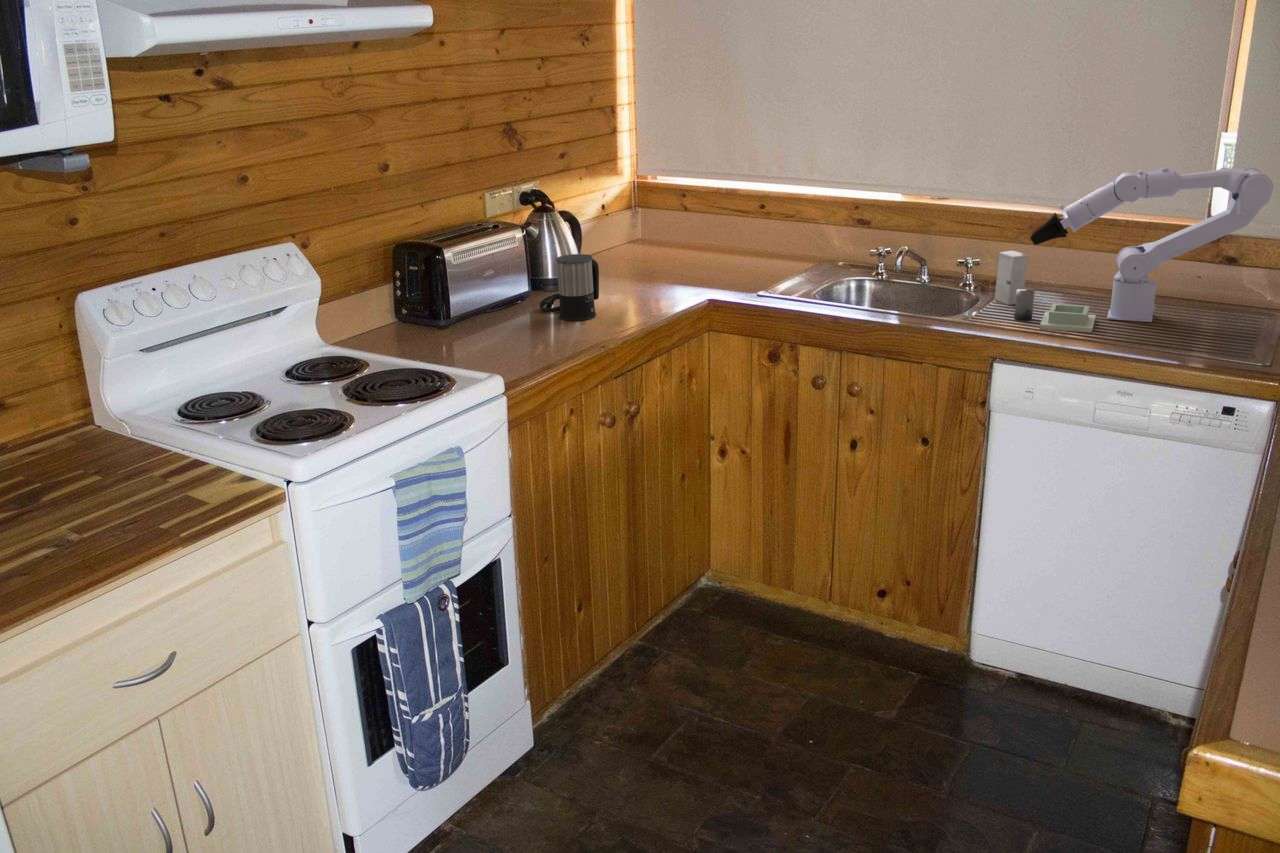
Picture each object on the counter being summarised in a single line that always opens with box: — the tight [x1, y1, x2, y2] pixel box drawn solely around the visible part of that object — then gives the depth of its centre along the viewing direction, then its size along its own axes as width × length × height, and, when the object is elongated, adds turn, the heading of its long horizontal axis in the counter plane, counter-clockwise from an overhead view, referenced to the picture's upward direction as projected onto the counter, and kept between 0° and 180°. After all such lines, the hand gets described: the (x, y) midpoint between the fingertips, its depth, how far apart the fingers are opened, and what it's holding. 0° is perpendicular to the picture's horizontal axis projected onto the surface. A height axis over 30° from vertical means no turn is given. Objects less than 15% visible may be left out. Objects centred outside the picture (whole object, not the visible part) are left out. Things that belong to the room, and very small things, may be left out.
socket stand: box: [1039, 303, 1097, 334], centre depth 257 cm, size 11×12×4 cm
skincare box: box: [994, 250, 1028, 306], centre depth 276 cm, size 6×4×12 cm
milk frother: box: [539, 253, 600, 322], centre depth 280 cm, size 14×16×15 cm
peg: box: [1014, 286, 1036, 322], centre depth 262 cm, size 4×4×7 cm
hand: (1032, 239), depth 262 cm, fingers open, 7 cm apart
